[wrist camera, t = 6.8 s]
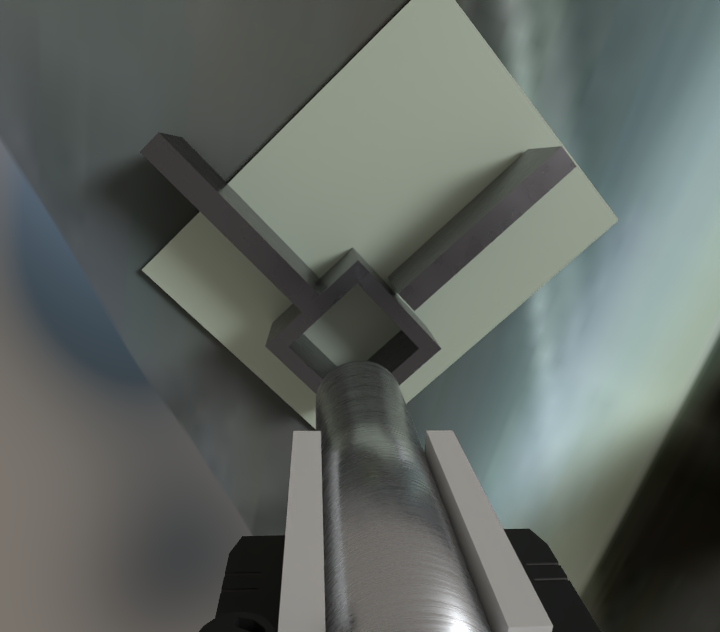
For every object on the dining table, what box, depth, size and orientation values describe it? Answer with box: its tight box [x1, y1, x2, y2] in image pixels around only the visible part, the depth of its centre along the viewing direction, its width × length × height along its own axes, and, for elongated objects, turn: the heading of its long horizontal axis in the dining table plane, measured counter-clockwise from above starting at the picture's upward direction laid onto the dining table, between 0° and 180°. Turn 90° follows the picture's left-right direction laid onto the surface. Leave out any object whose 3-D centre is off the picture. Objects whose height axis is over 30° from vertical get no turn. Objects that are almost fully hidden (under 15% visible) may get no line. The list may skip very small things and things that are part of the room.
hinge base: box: [140, 133, 441, 394], centre depth 26 cm, size 16×6×4 cm, turn 43°
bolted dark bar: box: [388, 146, 577, 311], centre depth 26 cm, size 1×10×4 cm, turn 132°
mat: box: [142, 0, 618, 429], centre depth 29 cm, size 16×21×1 cm
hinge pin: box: [316, 361, 492, 632], centre depth 13 cm, size 4×4×13 cm
